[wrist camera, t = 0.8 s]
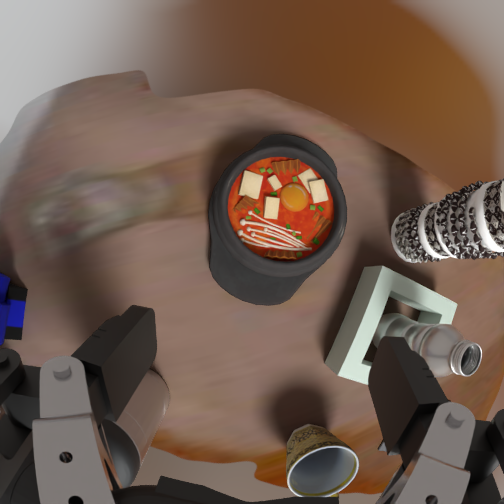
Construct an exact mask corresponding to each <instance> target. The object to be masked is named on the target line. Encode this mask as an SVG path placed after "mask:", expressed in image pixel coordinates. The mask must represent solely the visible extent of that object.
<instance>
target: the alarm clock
mask: <svg viewBox="0 0 504 504" xmlns="http://www.w3.org/2000/svg"><path fill="white" fill-rule="evenodd" d="M9 282H10V278H9V277H7V276H6V275H4V274H2V273H0V345H2V344H3V342H4V339H13V340H21V339H22V328H23V319H24V311H25V303H26V297H27V290H28V289H25V288H22V287H19V286H16V285H13V284H10V283H9ZM7 289H8V290H7ZM6 293H7V297H6ZM5 298H6V300H5Z"/></svg>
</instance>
